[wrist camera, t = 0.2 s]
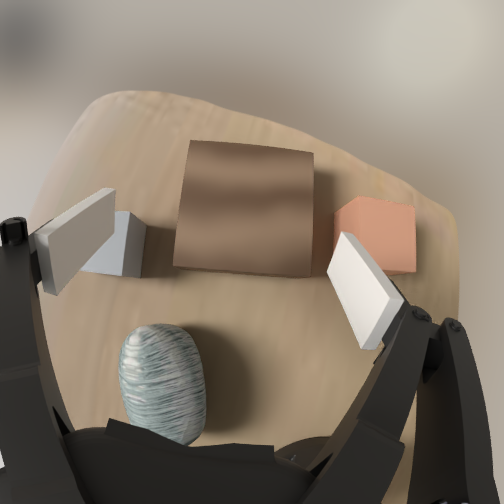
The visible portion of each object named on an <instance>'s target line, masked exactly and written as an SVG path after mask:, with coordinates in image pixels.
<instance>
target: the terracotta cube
mask: <svg viewBox="0 0 504 504" xmlns="http://www.w3.org/2000/svg"><path fill="white" fill-rule="evenodd" d="M341 231H343V232H347V233H351V234H353V235H354V236H355V237H356V238H357V239H358V241H359V242H360V243H361V244H362V246H363V247H364V248H365V249H366V250H367V252H368V253H369V254H370V255H371V257H372V258H373V259H374V261H375V262H376V263H377V264H378V266H379V267H380V268H381V270H382V271H383V272H384V273H385V275H395V274H404V273H413V272H416V228H415V210H414V206H410V205H405V204H401V203H396V202H391V201H386V200H381V199H375V198H370V197H365V196H357V197H356V198H355V199H353V200H352V201H350V202H349V203H348V204H346V205H345V206H343V207H342V208H341V209H339V210H338V211H336V212H335V213H334V240H333V254H334V251H335V248H336V245H337V243H338V240H339V237H340V234H341Z"/></svg>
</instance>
